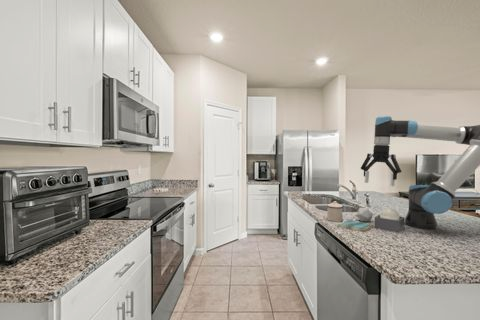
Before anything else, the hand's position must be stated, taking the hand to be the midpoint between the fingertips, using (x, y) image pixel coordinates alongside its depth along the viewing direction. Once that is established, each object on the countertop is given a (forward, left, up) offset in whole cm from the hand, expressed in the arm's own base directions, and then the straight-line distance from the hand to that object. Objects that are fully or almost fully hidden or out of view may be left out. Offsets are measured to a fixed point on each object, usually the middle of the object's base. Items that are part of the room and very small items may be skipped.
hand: (378, 184), depth 138 cm
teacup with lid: (+25, -1, -24) cm, 35 cm away
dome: (-4, -5, -22) cm, 23 cm away
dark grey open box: (-4, -5, -24) cm, 25 cm away
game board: (+10, +6, -24) cm, 27 cm away
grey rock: (+11, -11, -24) cm, 29 cm away
